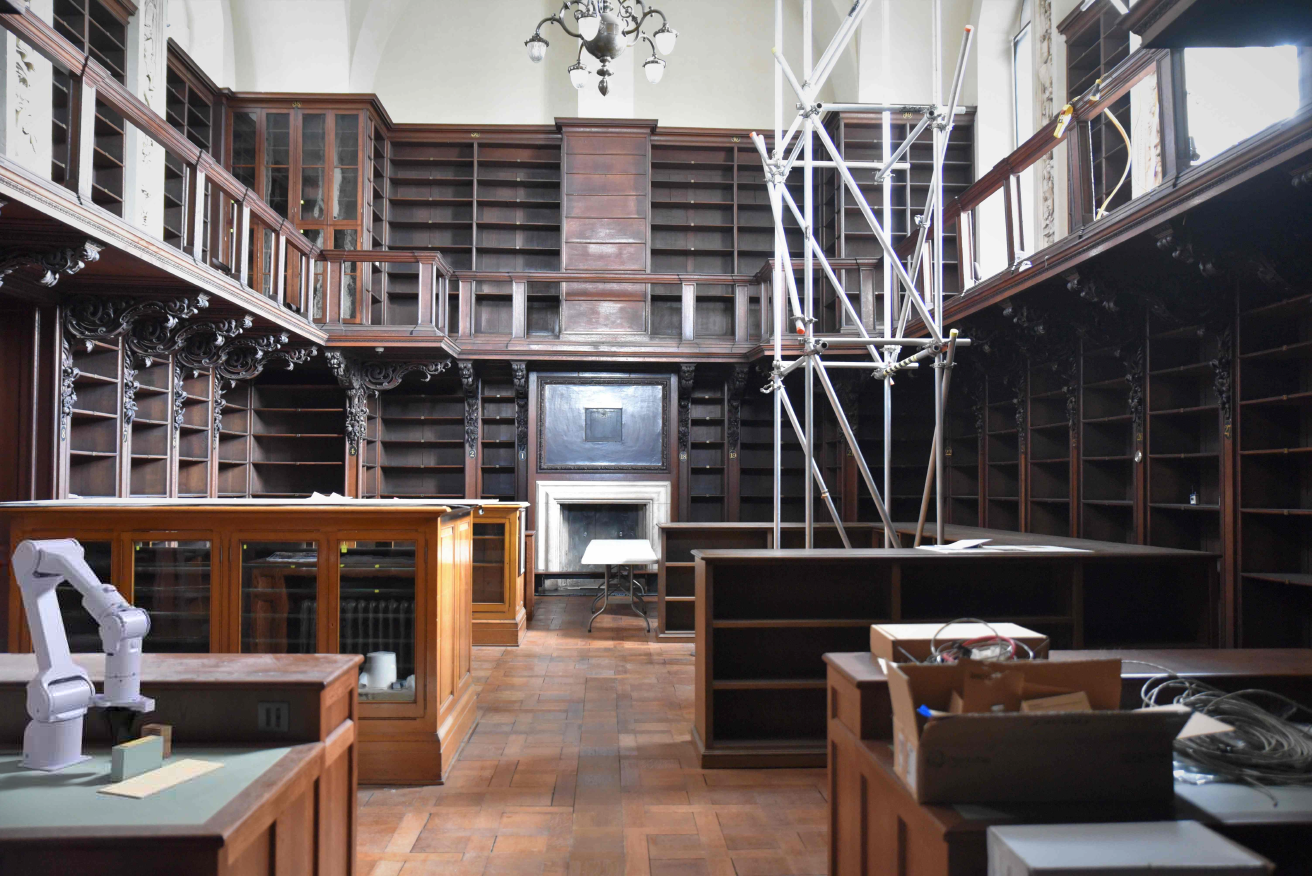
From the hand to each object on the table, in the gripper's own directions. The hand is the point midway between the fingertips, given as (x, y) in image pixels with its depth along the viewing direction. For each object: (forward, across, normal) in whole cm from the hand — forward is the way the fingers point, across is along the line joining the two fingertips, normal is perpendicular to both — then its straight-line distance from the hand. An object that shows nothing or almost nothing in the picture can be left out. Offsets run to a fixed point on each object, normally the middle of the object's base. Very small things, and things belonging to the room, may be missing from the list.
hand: (119, 747), depth 153 cm
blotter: (+4, +12, 0) cm, 13 cm away
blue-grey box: (+5, +5, 0) cm, 7 cm away
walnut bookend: (+4, -1, +8) cm, 10 cm away
